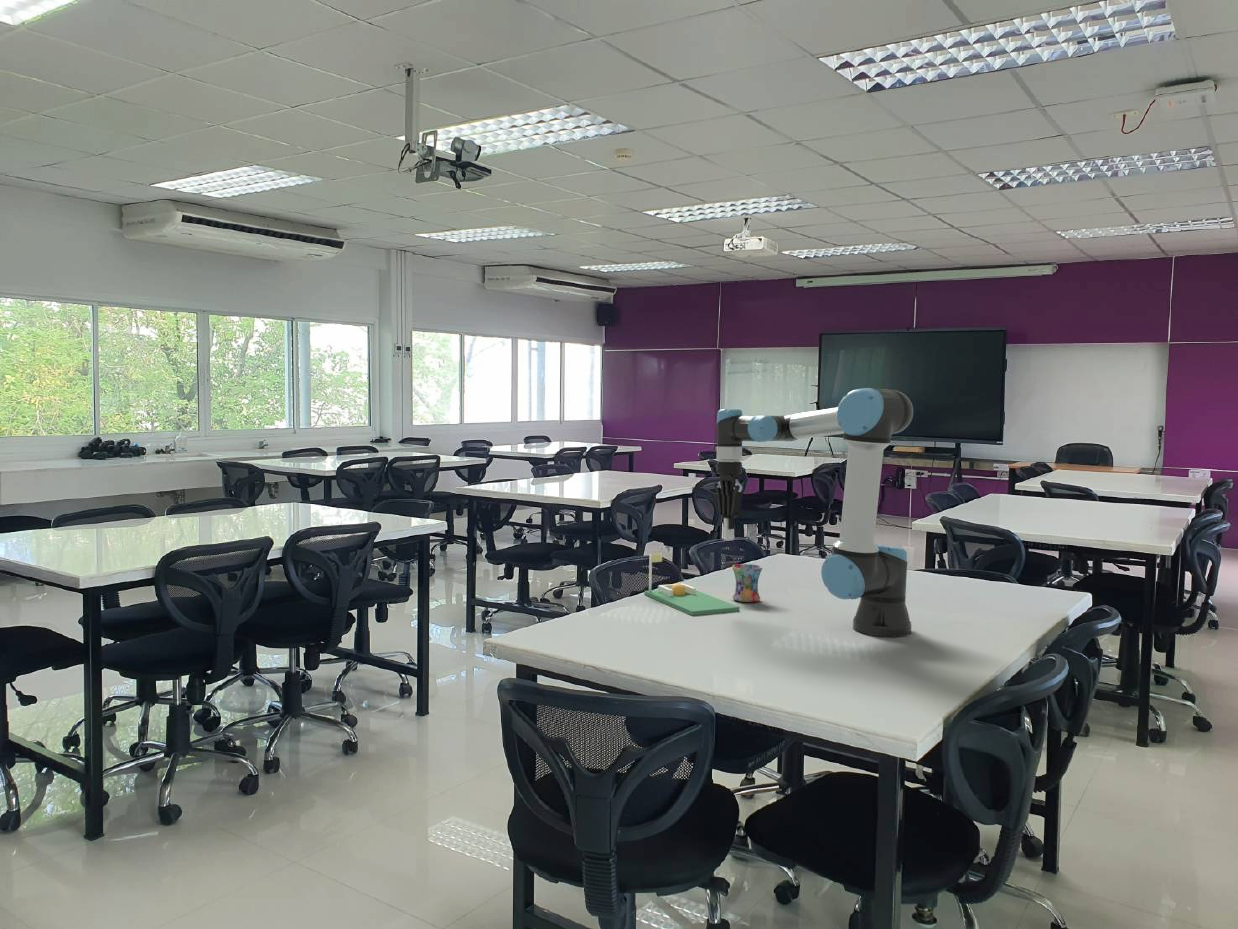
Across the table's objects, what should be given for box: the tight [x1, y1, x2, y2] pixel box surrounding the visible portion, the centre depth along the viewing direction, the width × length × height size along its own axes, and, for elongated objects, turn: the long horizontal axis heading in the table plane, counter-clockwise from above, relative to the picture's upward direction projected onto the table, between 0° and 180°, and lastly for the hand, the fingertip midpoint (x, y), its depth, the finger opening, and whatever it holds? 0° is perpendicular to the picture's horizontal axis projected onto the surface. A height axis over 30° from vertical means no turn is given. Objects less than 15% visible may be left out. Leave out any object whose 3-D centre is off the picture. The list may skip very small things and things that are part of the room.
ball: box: [671, 583, 685, 596], centre depth 269 cm, size 4×4×4 cm
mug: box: [731, 563, 763, 603], centre depth 269 cm, size 12×9×11 cm
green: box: [644, 552, 741, 616], centre depth 263 cm, size 30×16×13 cm, turn 25°
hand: (728, 539), depth 259 cm, fingers closed
